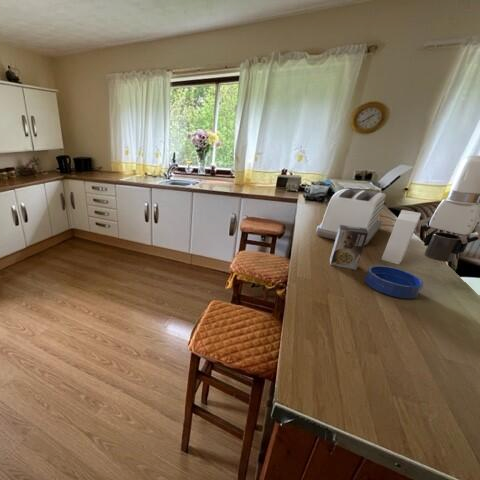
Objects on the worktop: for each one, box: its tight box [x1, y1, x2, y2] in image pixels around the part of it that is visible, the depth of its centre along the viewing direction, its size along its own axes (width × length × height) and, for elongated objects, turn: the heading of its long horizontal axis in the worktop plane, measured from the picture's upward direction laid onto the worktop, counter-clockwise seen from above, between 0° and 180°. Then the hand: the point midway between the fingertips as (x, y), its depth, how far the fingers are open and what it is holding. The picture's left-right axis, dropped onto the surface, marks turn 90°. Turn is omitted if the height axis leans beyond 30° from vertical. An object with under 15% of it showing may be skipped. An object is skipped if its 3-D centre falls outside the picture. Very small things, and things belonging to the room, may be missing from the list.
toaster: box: [315, 188, 387, 246], centre depth 139 cm, size 23×45×22 cm, turn 133°
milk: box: [380, 209, 422, 265], centre depth 106 cm, size 6×6×22 cm
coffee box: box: [329, 225, 368, 271], centre depth 103 cm, size 9×6×16 cm
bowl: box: [364, 265, 425, 300], centre depth 90 cm, size 15×15×5 cm
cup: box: [424, 231, 461, 263], centre depth 86 cm, size 7×7×8 cm
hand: (441, 248), depth 86 cm, fingers closed on cup, 6 cm apart
